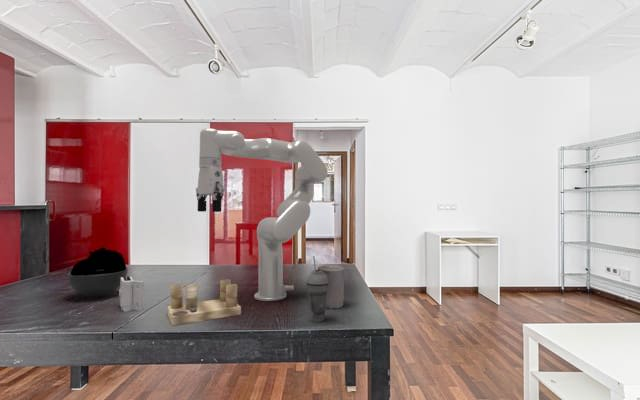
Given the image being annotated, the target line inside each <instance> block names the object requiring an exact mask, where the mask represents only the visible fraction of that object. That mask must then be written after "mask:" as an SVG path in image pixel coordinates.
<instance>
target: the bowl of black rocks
mask: <svg viewBox="0 0 640 400" xmlns="http://www.w3.org/2000/svg"><path fill="white" fill-rule="evenodd" d="M88 253H89V254H90V255H89V256H88V257H87V258H85V259H82V260H79V261H78V262H76V263H75V264H74V265H72V266H73V267H72V269H71V271H70V272H68V273H67V280H68V283H69V285H70V287H71V288H72V289H73V290H74V291H75V292H76V293H78V294H80V295H82V296H85V297H91V298H98V297H103V296H106V295H110V294H111V293H113V292H115V291H116V290H117V289H118V288H120V280H121V277H125V278H126V279H127V276H128V275H127V274H128V268H127V264H126V262H125V258H124V256H123V254H122V253H121V252H119V251H116V250H114V249H113V250H111V249H106V247H105V246H103V247H100V248H98V249H96V250H94V251H89V252H88Z"/></svg>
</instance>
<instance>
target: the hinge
mask: <svg viewBox="0 0 640 400" xmlns="http://www.w3.org/2000/svg"><path fill="white" fill-rule="evenodd" d="M144 285H145V284H144V280H134V278H133V277H132V276H128V275H126V278H125V277H121V280H120V287H119V290H118V297H119V306H120V309H121V311H123V312H131V311H139V312H143V311H144V291H145V290H144Z"/></svg>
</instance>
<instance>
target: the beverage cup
mask: <svg viewBox="0 0 640 400" xmlns="http://www.w3.org/2000/svg"><path fill="white" fill-rule="evenodd" d="M312 260H313V261H312V262H313V267H314V270H312V271H310V273H309V274H308V276H307V277H306V283H305V284H306V290H307V296H308V297H307V298H308V300H307V301H308V310H309V319H310V321H311V322H315V323H319V322H320V321H321V322H324V321H325V317H326V309H325V308H326V296H327V289H328V284H329V282H328V278H327V275H326V274H325V273H324V272H323V271H321V270H318V269H317V266H316V257H315V256H314V255H313V256H312ZM323 320H324V321H323ZM321 322H320V323H321Z"/></svg>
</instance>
